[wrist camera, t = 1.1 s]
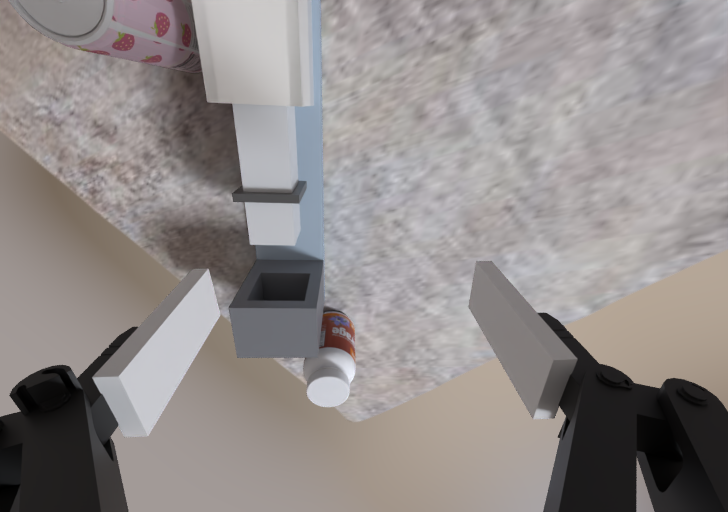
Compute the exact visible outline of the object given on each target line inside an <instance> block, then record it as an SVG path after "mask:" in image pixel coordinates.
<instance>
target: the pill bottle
mask: <svg viewBox="0 0 728 512" xmlns="http://www.w3.org/2000/svg"><path fill="white" fill-rule="evenodd" d="M303 373H304V377H305V379H306V381H307V396H308V398H309V399H310V400H311V401H312V402H313V403H314V404H316V405H319V406H322V407H334V406H337V405H340V404H342V403H343V402H344V401H345V400H346V399H347V398H348V396H349V389H350V382H351V381H352V380H353V378H354V375H355V329H354V324H353V322H352V321H351V319H350V318H349V317H348V316H346V315H345V314H343V313H340V312H335V311H329V312H324V313H323V318H322V326H321V335H320V344H319V352H318V357H316V358H305V360H304V366H303Z"/></svg>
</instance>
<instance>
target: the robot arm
mask: <svg viewBox="0 0 728 512" xmlns="http://www.w3.org/2000/svg"><path fill="white" fill-rule="evenodd" d="M469 309H470V310H471V312H472V314H473V316H474V317H475V319H476V321H477V323H478V324H479V326H480V328H481V330H482V331H483V333H484V335H485V337H486V338H487V340H488V342H489V344H490V345H491V347H492V349H493V350H494V352H495V354H496V356H497V357H498V359H499V361H500V363H501V364H502V366H503V368H504V369H505V371H506V373H507V375H508V376H509V378H510V380H511V382H512V383H513V385H514V387H515V389H516V391H517V392H518V394H519V396H520V397H521V399H522V401H523V403H524V404H525V406H526V408H527V410H528V411H529V413H530V415H531V417H532V418H533V419H548V418H555V416H556V413H557V411H558V408H559V406H560V408H561V409H562V410H563V412H564V414H565V415H566V418H565V421H564V424H563V426H562V428H561V430H560V433H559V435H558V438H560V441H559V445H558V450H557V454H556V459H555V463H554V467H553V472H552V476H551V481H550V485H549V489H548V494H547V498H546V502H545V506H544V511H543V512H636V458H638V461H639V465H640V468H641V471H642V474H643V477H644V480H645V483H646V486H647V489H648V493H649V495H650V499H651V502H652V505H653V508H654V511H655V512H728V411H727V410H726V408H725V407H724V405H723V404H722V403H721V401H720V400H719V399H718V398H717V397H716V396H715V395H713V394H712V393H711V392H709V391H708V390H707V389H705V388H703V387H701V386H699V385H697V384H695V383H692V382H689V381H686V380H683V379H676V378H671V379H667V380H666V381H665V382H664V383H663V385H662V387H661V388H655V387H650V386H645V385H640V384H635V383H633V381H632V380H631V379H630V378H629V377H628V376H627V375H625V374H624V373H622V372H621V371H619V370H617V369H615V368H613V367H610V366H607V365H603V364H599V363H598V362H597V361H596V360H595V359H594V358H593V357H592V356H591V355H590V353H589V352H588V351H587V350H586V349H585V348H584V347H583V346H582V345H581V344H580V343H579V342H578V341H577V340H576V339H575V338H574V337H573V335H571V333H569V331H567V329H566V328H565V327H564V326H563V325H562V324H561V323H560V322H559V321H558V320H557V319H555V318H554V317H552V316H550V315H549V314H547V313H537V312H536V311H535V310H534V309H533V308H532V307H531V305H530V304H529V303H528V302H527V301H526V300H525V299H524V297H523V296H522V295H521V294H520V293H519V292H518V291H517V290H516V288H515V287H514V286H513V285H512V284H511V283H510V282H509V280H508V279H507V278H506V277H505V276H504V275H503V274H502V272H501V271H500V270H499V269H498V268H497V267H496V266H495V265H494V263H493V262H492V261H476V265H475V271H474V277H473V283H472V289H471V295H470V301H469ZM219 316H220V311H219V307H218V303H217V299H216V295H215V292H214V288H213V284H212V280H211V276H210V272H209V269H192V270H191V271H190V272H189V273H188V274H187V275H186V276H185V277H184V279H183V280H182V281H181V282H180V283H179V284H178V285H177V286H176V287H175V288H174V289H173V290H172V292H171V293H170V294H169V295H168V296H167V297H166V298H165V299H164V300H163V301H162V302H161V304H160V305H159V306H158V307H157V308H156V309H155V310H154V311H153V312H152V313H151V314H150V315H149V316H148V317H147V319H146V320H145V321H144V322H143V323H142V324H141V325H140V326H139V327H132V328H130V329H129V330H127V331H126V332H124V333H122V334H121V335H119V336H118V337H117V338H116V339H115V340H114V341H113V343H111V345H109V348H107V349H105V350H104V351H103V353H102V354H101V356H99V357H98V358H97V359H96V360H95V361H94V362H93V363H92V364H91V365H90V366H89V367H88V368H87V369H86V370H85V371H84V372H83V373H82V374H81V375H80V376H79V377H78V378H76V376H75V375H74V373H73V371H72V370H71V368H70V367H69V366H66V365H57V366H51V367H48V368H45V369H42V370H40V371H37V372H35V373H33V374H31V375H29V376H28V377H26V378H25V379H23V380H22V381H20V382H19V383H18V384H17V385H16V386H15V387H14V388H13V389H12V391H11V393H10V397H11V398H12V400H13V401H14V402H15V404H16V405H17V407H18V408H19V409H20V410H21V412H17V413H13V414H9V415H5V416H2V417H0V512H128V507H127V502H126V498H125V494H124V488H123V484H122V479H121V474H120V470H119V466H118V460H117V456H116V451H115V446H114V443H113V441H112V439H111V437H110V436H111V435H112V434H113V432H114V431H115V429H116V428H117V427H118V426H119V428H120V430H121V432H122V433H123V435H124V437H142V436H148V435H149V433H150V432H151V430H152V429H153V427H154V425H155V424H156V422H157V420H158V419H159V417H160V415H161V413H162V412H163V410H164V409H165V407H166V405H167V403H168V402H169V400H170V398H171V397H172V395H173V393H174V392H175V390H176V388H177V387H178V385H179V383H180V382H181V380H182V378H183V377H184V375H185V373H186V372H187V370H188V368H189V366H190V365H191V363H192V362H193V360H194V358H195V357H196V355H197V353H198V352H199V350H200V348H201V347H202V345H203V343H204V342H205V340H206V338H207V337H208V335H209V333H210V331H211V330H212V328H213V326H214V325H215V323H216V321H217V320H218V318H219Z"/></svg>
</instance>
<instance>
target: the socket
mask: <svg viewBox="0 0 728 512" xmlns="http://www.w3.org/2000/svg"><path fill="white" fill-rule="evenodd" d="M323 309H324V261H322V260H259V259H257V260H256V262H255V263H254V265H253V267H252V269H251V270H250V272H249V274H248V276H247V277H246V279H245V281H244V282H243V284H242V286H241V288H240V289H239V291H238V293H237V294H236V296H235V298H234V300H233V301H232V303H231V305H230V307H229V313H230V319H231V324H232V330H233V336H234V341H235V347H236V353H237V358H316V357H318V352H319V344H320V335H321V326H322V318H323Z"/></svg>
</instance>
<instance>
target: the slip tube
mask: <svg viewBox="0 0 728 512" xmlns="http://www.w3.org/2000/svg"><path fill="white" fill-rule="evenodd" d="M232 105H233V113H234V121H235V129H236V137H237V145H238V153H239V161H240V169H241V177H242V186H241V187H240V188H238V189H237V190H236V191H235V192H233V193H232V197H233V202H245V209H246V217H247V225H248V233H249V240H250V245H290V246H295V244H296V241H297V238H298V236H299V233H300V230H301V226H300V205H299V204H300V201H301V199H302V197H303V195H304V193H305V191H306V189H307V181H298V164H297V143H296V123H295V106H276V105H254V104H232Z"/></svg>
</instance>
